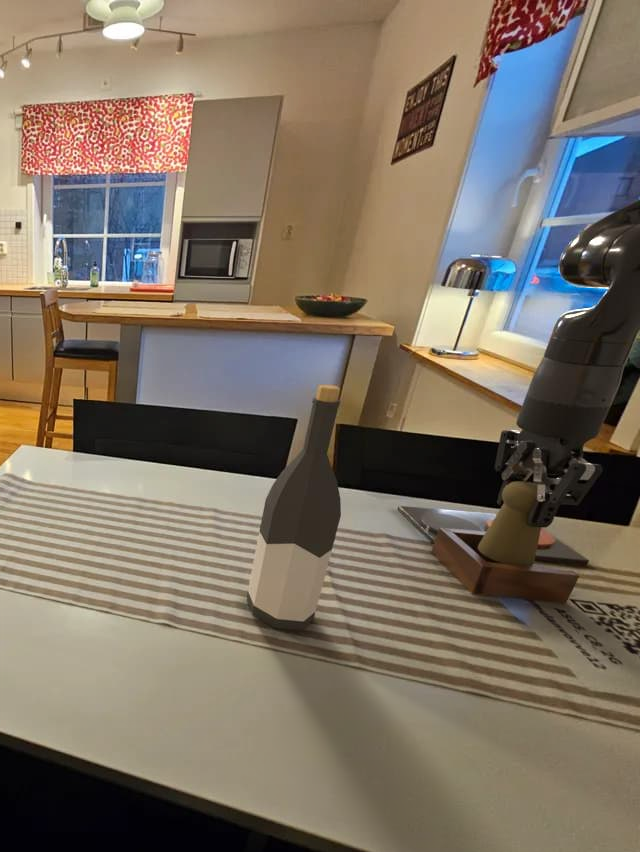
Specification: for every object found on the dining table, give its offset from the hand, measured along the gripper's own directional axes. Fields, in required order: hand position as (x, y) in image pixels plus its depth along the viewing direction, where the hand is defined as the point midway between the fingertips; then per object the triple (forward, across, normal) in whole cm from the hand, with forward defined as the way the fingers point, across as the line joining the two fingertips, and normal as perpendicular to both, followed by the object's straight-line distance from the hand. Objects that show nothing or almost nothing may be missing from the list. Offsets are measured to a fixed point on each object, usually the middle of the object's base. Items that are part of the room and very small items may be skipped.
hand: (520, 514), depth 68 cm
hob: (+10, +13, -6) cm, 17 cm away
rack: (+10, 0, 0) cm, 10 cm away
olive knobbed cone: (+7, 0, 0) cm, 7 cm away
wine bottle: (+10, -14, +33) cm, 37 cm away
